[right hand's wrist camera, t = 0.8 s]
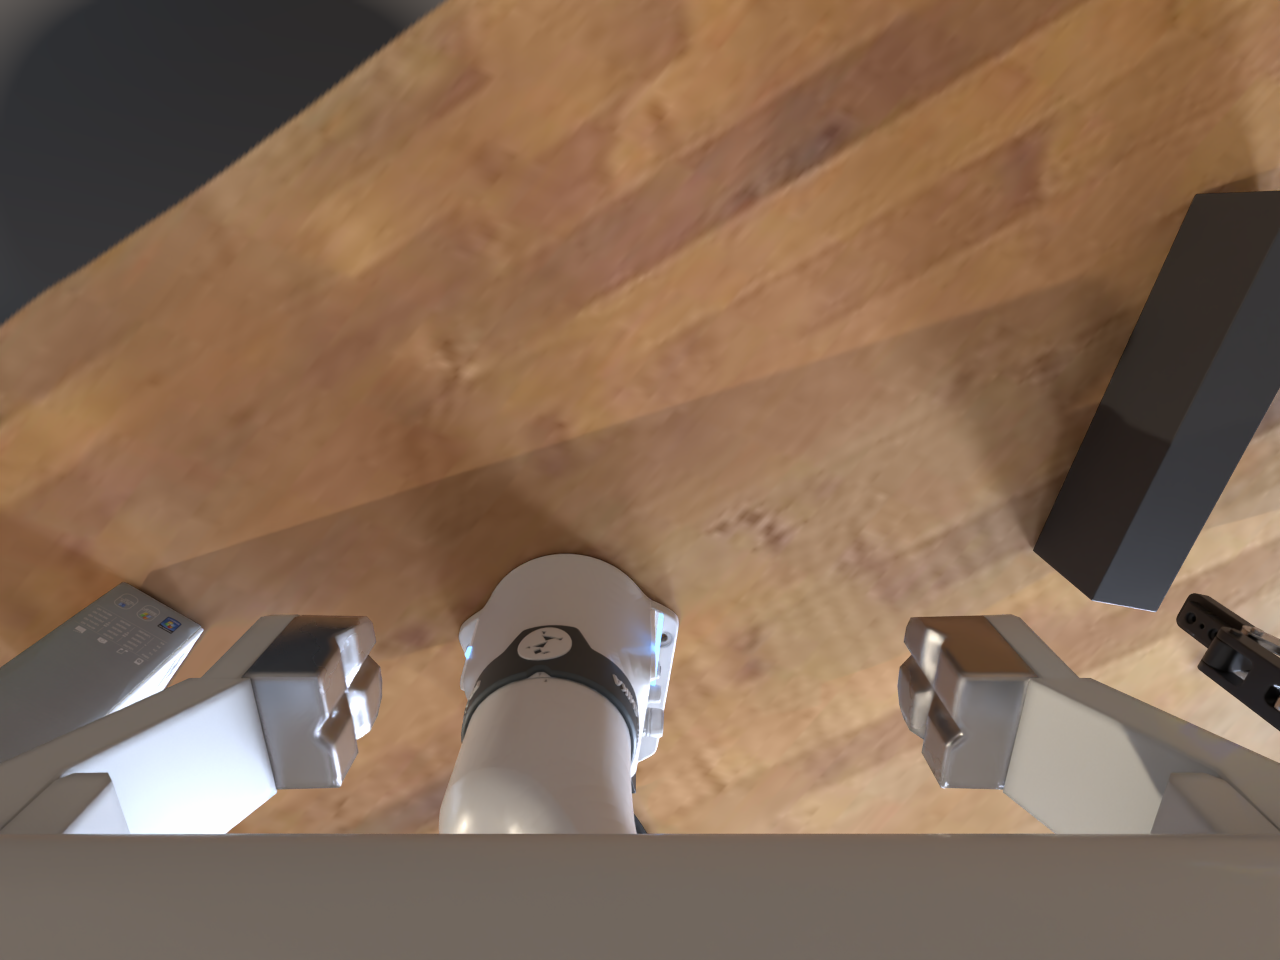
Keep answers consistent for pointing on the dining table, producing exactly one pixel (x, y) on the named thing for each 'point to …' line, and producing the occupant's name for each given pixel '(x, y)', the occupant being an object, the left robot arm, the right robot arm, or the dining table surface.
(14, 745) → the hard drive box
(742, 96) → the dining table surface
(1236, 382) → the bar
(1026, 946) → the right robot arm
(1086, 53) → the dining table surface
